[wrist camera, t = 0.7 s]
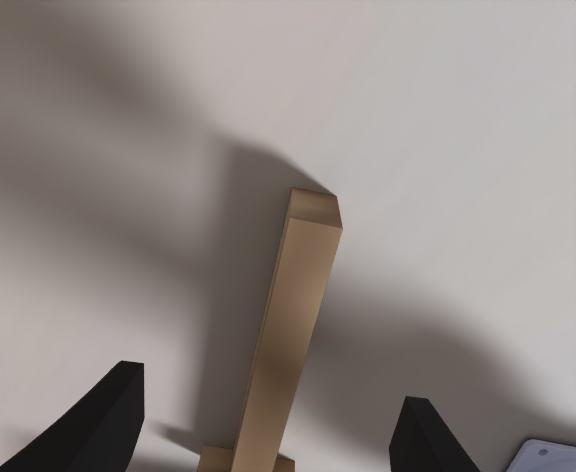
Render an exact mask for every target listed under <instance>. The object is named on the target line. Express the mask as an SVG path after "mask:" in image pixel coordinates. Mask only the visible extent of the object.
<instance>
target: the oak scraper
mask: <svg viewBox="0 0 576 472" xmlns="http://www.w3.org/2000/svg"><path fill="white" fill-rule="evenodd" d="M342 230H343V227H342V222H341V217H340V211H339V206H338V201H337V196H332V195H327V194H323V193H318V192H313V191H308V190H304V189H299V188H294V187H292V191H291V195H290V200H289V204H288V209H287V213H286V217H285V222H284V226H283V231H282V235H281V240H280V244H279V248H278V253H277V257H276V262H275V266H274V271H273V275H272V279H271V284H270V288H269V293H268V297H267V302H266V306H265V310H264V315H263V319H262V324H261V328H260V333H259V337H258V341H257V346H256V350H255V355H254V359H253V364H252V368H251V372H250V377H249V381H248V386H247V390H246V395H245V399H244V403H243V408H242V412H241V417H240V421H239V426H238V430H237V434H236V439H235V443H234V448H233V450H230V449H225V448H219V447H213V446H208V445H203V448H202V452H201V457H200V461H199V465H198V469H197V472H295V461H293V460H287V459H282V458H276V457H277V454H278V450H279V447H280V443H281V440H282V436H283V433H284V430H285V426H286V423H287V419H288V416H289V412H290V409H291V405H292V402H293V399H294V395H295V392H296V388H297V385H298V381H299V378H300V374H301V371H302V367H303V364H304V361H305V357H306V354H307V350H308V347H309V343H310V340H311V336H312V333H313V330H314V326H315V323H316V319H317V316H318V312H319V309H320V305H321V302H322V299H323V295H324V292H325V288H326V285H327V281H328V278H329V274H330V271H331V268H332V264H333V261H334V257H335V254H336V250H337V247H338V243H339V240H340V237H341V233H342Z"/></svg>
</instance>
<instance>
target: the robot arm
mask: <svg viewBox="0 0 576 472" xmlns="http://www.w3.org/2000/svg"><path fill="white" fill-rule="evenodd" d="M143 421H144V363H137V362H129V361H120V362H119V363H117V364H116V365H115V366H114V367H113V368H112V369H111V370H110V371H109V372H108V373H107V374H106V375H105V376H104V377H103V378H102V379H101V380H100V381H99V382H98V383H97V384H96V385H95V386H94V387H93V388H92V389H91V390H90V391H89V392H88V393H87V394H86V395H85V396H83V397H82V398H81V399H80V400H79V401H78V402H77V403H76V404H75V405H74V406H73V407H71V408H70V409H69V410H68V411H67V412H66V413H65V414H64V415H63V416H62V417H60V418H59V419H58V420H57V421H56V422H55V423H54V424H52V425H51V426H50V427H49V428H48V429H46V430H45V431H44V432H43V433H42V434H40V435H39V436H38V437H37V438H36V439H34V440H33V441H32V442H31V443H30V444H28V445H27V446H26V447H25V448H23V449H22V450H21V451H20V452H18V453H17V454H16V455H14V456H13V457H12V458H10V459H9V460H8V461H6V462H5V463H4V464H3V465H1V466H0V472H125V471H126V469H127V466H128V464H129V462H130V460H131V457H132V455H133V452H134V449H135V446H136V443H137V440H138V437H139V434H140V431H141V428H142V424H143ZM389 454H390V464H391V472H480V470H479V469H478V468H477V466H476V465H475V464H474V463H473V461H472V460H471V459H470V457H469V456H468V455H467V453H466V452H465V450H464V449H463V448H462V446H461V445H460V444H459V442H458V441H457V439H456V438H455V437H454V435H453V434H452V432H451V431H450V429H449V428H448V427H447V425H446V424H445V422H444V421H443V419H442V418H441V417H440V415H439V414H438V412H437V411H436V410H435V408H434V407H433V405H432V404H431V403H430V401H429V400H428V399H425V398H417V397H409V396H406V398H405V401H404V404H403V407H402V410H401V413H400V416H399V419H398V422H397V425H396V428H395V431H394V434H393V437H392V440H391V443H390V446H389ZM506 472H576V447H572V446H567V445H562V444H556V443H551V442H546V441H540V440H534V439H531V440H528V441H526V442H525V443H524V444H523V446H522V447H521V449H520V451H519V452H518V454H517V455H516V457H515V458H514V460H513V462H512V463H511V465H510V466H509V468H508V469H507V471H506Z"/></svg>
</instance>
